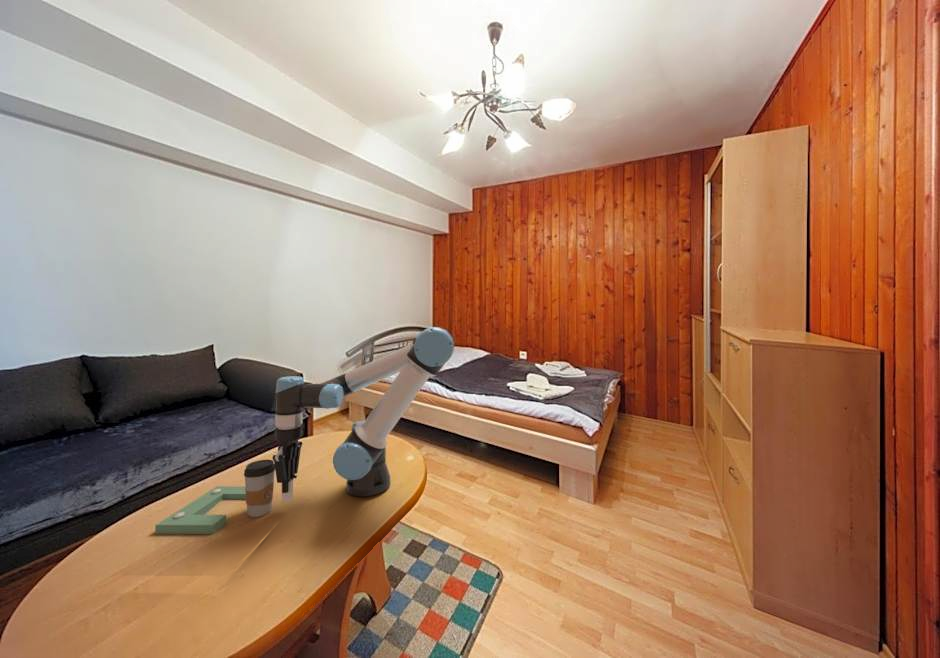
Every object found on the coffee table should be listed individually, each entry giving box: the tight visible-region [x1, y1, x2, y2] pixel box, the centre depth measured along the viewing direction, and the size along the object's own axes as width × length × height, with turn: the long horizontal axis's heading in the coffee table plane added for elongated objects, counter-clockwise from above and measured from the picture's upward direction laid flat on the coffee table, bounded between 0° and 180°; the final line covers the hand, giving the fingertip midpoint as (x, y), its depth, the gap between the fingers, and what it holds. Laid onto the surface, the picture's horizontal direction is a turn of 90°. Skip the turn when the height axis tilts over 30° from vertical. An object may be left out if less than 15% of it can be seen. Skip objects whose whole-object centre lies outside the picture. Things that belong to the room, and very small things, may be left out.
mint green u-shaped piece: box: [155, 486, 246, 535], centre depth 101 cm, size 16×22×3 cm
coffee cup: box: [243, 459, 276, 518], centre depth 101 cm, size 8×8×15 cm
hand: (287, 500), depth 101 cm, fingers closed
